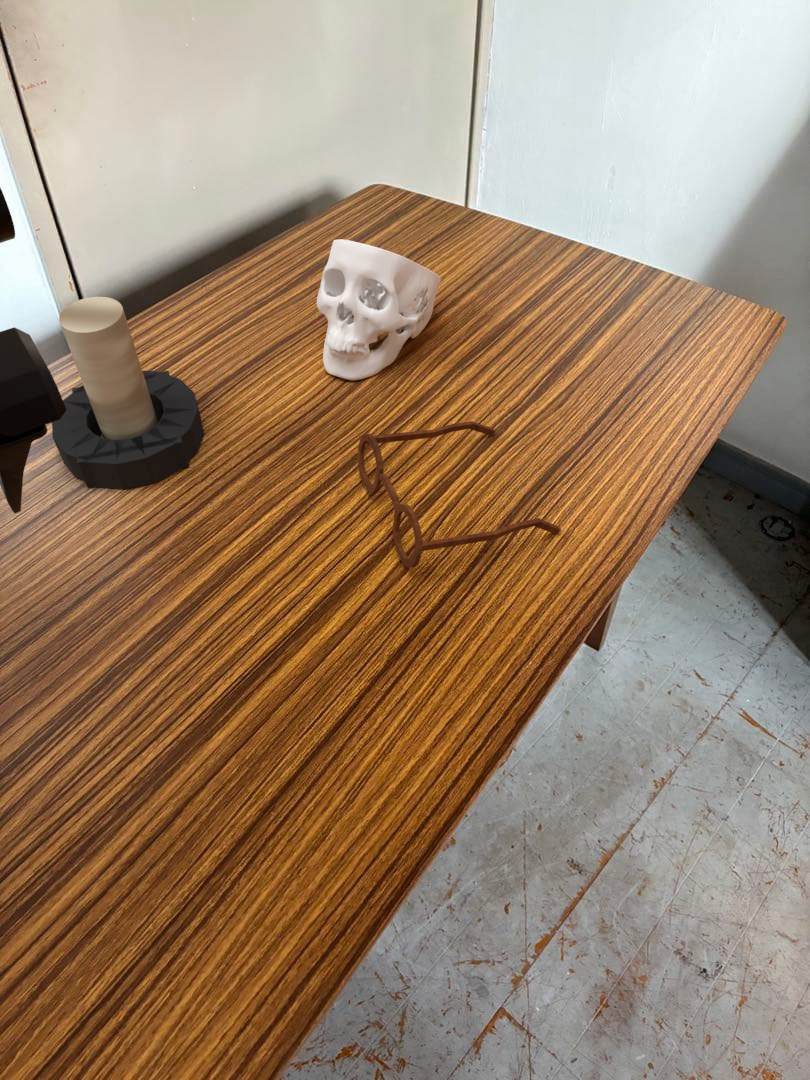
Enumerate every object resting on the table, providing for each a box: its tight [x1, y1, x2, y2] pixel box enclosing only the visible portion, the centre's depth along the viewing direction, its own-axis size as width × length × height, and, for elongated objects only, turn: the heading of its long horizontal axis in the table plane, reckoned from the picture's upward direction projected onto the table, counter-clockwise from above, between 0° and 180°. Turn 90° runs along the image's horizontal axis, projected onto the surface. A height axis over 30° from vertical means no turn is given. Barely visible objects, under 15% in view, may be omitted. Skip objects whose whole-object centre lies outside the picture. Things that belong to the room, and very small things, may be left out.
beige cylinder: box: [58, 296, 159, 440], centre depth 68 cm, size 5×5×13 cm
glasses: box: [357, 420, 562, 569], centre depth 66 cm, size 13×13×5 cm
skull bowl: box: [316, 238, 442, 381], centre depth 80 cm, size 10×14×12 cm
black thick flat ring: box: [51, 370, 205, 490], centre depth 71 cm, size 12×12×3 cm
